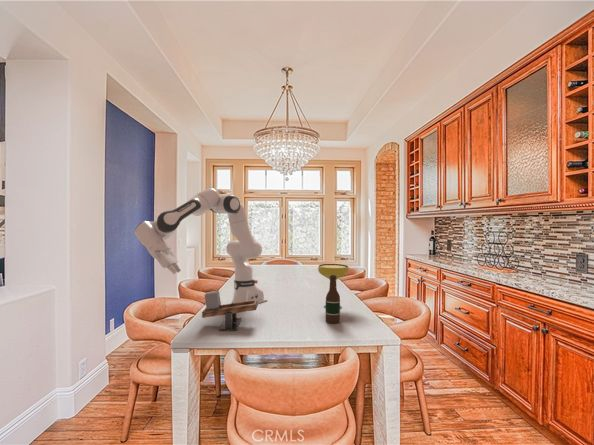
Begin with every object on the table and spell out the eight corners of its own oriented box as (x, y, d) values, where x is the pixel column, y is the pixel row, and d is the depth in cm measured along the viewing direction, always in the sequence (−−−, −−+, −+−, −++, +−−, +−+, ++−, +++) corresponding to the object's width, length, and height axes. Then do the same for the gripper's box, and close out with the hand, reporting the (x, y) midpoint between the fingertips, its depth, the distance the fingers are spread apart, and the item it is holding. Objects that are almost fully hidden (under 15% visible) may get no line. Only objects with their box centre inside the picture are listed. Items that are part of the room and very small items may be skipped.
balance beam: (202, 319, 160) (201, 312, 160) (208, 313, 171) (207, 306, 171) (256, 311, 161) (255, 304, 161) (258, 305, 171) (257, 299, 171)
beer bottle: (327, 324, 169) (328, 276, 169) (323, 319, 176) (323, 274, 176) (342, 323, 170) (342, 276, 170) (337, 318, 178) (337, 274, 178)
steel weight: (207, 312, 163) (204, 294, 163) (209, 310, 168) (207, 292, 168) (219, 311, 163) (216, 292, 163) (221, 308, 168) (218, 290, 168)
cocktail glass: (349, 311, 192) (350, 268, 192) (318, 311, 193) (318, 267, 192) (345, 303, 210) (346, 264, 210) (317, 303, 211) (317, 263, 211)
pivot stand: (219, 330, 157) (219, 314, 157) (226, 319, 174) (226, 304, 174) (236, 330, 158) (236, 314, 157) (241, 320, 174) (241, 304, 174)
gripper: (159, 246, 154) (178, 269, 155) (170, 246, 175) (186, 267, 175) (148, 254, 153) (167, 278, 154) (159, 254, 174) (176, 274, 174)
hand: (177, 272), depth 165 cm, fingers open, 8 cm apart
